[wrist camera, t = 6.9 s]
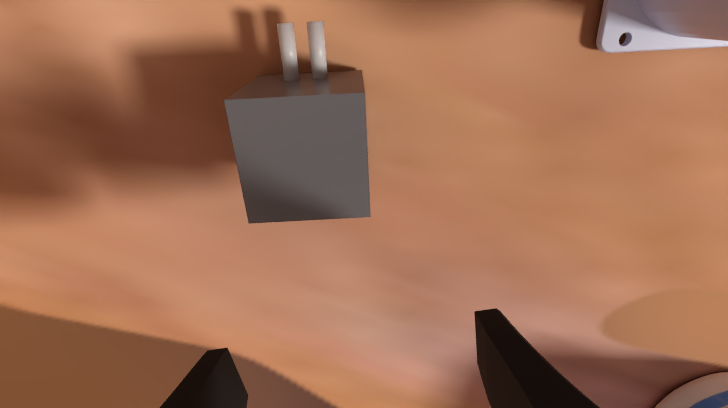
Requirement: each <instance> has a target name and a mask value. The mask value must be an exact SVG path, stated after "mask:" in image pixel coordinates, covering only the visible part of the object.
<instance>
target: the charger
mask: <svg viewBox="0 0 728 408" xmlns="http://www.w3.org/2000/svg"><path fill="white" fill-rule="evenodd" d="M307 30H308V40H309V50H310V60H311V70H312V73H299V69H298V60H297V52H296V43H295V34H294V26H293V23H278V24H277V31H278V38H279V46H280V53H281V61H282V68H283V74H280V75H261V76H257V77H256V78H254V79H253V80H251V81H250V82H249V83H247V84H246V85H244V86H243V87H242V88H240V89H239V90H237V91H236V92H235V93H233V94H232V95H230V96H229V97H227V98H226V99H225V100H224V103H225V108H226V113H227V118H228V123H229V128H230V133H231V138H232V143H233V148H234V153H235V158H236V163H237V168H238V173H239V178H240V183H241V188H242V192H243V197H244V202H245V207H246V212H247V217H248V222H249V223H265V222H284V221H303V220H322V219H340V218H359V217H370V195H369V173H368V151H367V129H366V107H365V90H364V83H363V75H362V70H355V71H336V72H327V62H326V50H325V38H324V26H323V21H313V22H307Z"/></svg>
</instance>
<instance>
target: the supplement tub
mask: <svg viewBox="0 0 728 408" xmlns="http://www.w3.org/2000/svg"><path fill="white" fill-rule="evenodd" d="M655 408H728V372H722V373H715V374H710V375H707V376H703V377H700V378H698V379H695V380H693V381H690V382H688V383H686V384H684V385H682V386H681V387H679V388H677V389H675V390H674V391H673V392H671V393H670V394H668V395H667V396H666V397H665V398H664V399H663V400H661V401H660V402H659V403H658V404H657V405H656V407H655Z"/></svg>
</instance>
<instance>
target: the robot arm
mask: <svg viewBox="0 0 728 408" xmlns="http://www.w3.org/2000/svg"><path fill="white" fill-rule="evenodd" d="M623 33H625V34H626V39H625V41H624V43H622V44H621V45H620V44H619V38H620V36H621V35H622V34H623ZM596 46H597V48H598V49H599V50H600V51H602V52H608V53H616V52H635V51H654V50H673V49H692V48H710V47H728V0H604V3H603V8H602V13H601V18H600V23H599V29H598V34H597V39H596ZM475 328H476V346H477V363H478V367H479V370H480V374H481V377H482V380H483V384H484V387H485V390H486V394H487V397H488V400H489V403H490V405H491V408H599V407H598V406H597V405H596V404H595V403H593V402H592V401H591V400H590V399H589V398H587V397H586V396H585V395H584V394H583V393H582V392H580V391H579V390H578V389H577V388H576V387H575V386H574V385H572V384H571V383H570V382H569V381H568V380H567V379H566V378H565V377H564V376H562V375H561V374H560V373H559V372H558V371H557V370H556V369H555V368H554V367H553V366H552V365H551V364H550V363H549V362H548V361H547V360H546V359H545V358H544V357H543V356H541V355H540V354H539V353H538V352H537V351H536V350H535V349H534V348H533V347H532V346H531V344H530V343H529V342H528V341H527V340H526V339H525V338H524V337H523V336H522V335H521V334H520V333H519V332H518V331H517V330H516V329H515V327H514V326H513V325H512V324H511V323H510V322H509V321H508V320H507V318H506V317H505V316H504V315H503V314H502V313H501V311H499V310H498V309H489V310H482V311H475ZM247 400H248V394H247V391H246V389H245V387H244V385H243V382H242V380H241V378H240V375H239V373H238V371H237V369H236V366H235V364H234V362H233V359H232V357H231V355H230V353H229V350H228V348H222V349H215V350H208V351H207V352H206V353H205V354H204V355H203V356H202V357H201V359H200V360H199V361H198V362H197V363H196V365H195V366H194V367H193V368H192V369H191V371H190V372H189V373H188V374H187V376H186V377H185V378H184V379H183V380H182V382H181V383H180V384H179V386H178V387H177V388H176V389H175V390H174V391H173V393H172V394H171V395H170V396H169V397H168V399H167V400H166V401H165V402H164V403H163V404H162V406H161V407H160V408H246V406H247Z"/></svg>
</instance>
